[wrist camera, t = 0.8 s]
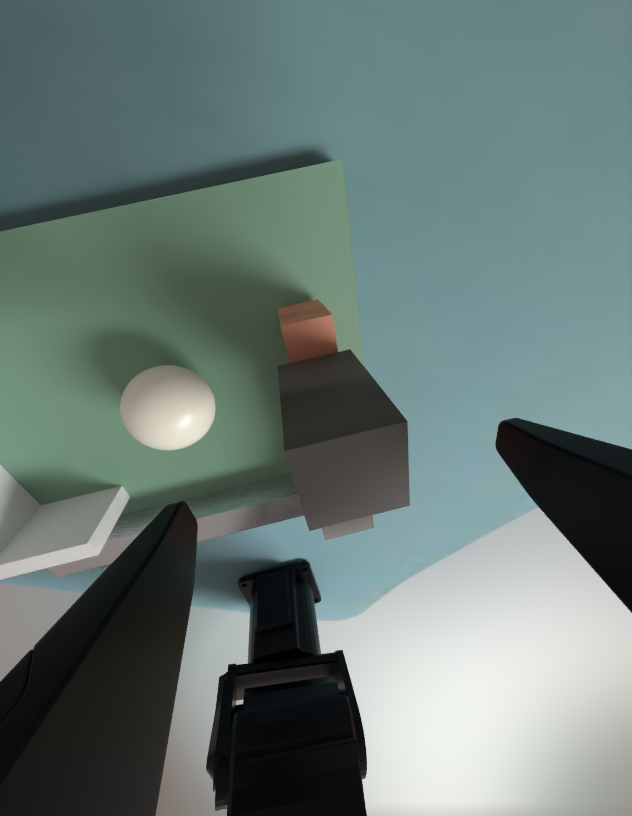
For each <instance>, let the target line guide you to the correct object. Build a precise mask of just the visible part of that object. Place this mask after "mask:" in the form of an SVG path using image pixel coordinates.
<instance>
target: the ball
mask: <svg viewBox="0 0 632 816" xmlns="http://www.w3.org/2000/svg"><path fill="white" fill-rule="evenodd" d="M215 411H216V405H215V398H214V395H213V393H212V391H211V389H210V387H209V385H208V384H207V383H206V382H205V380H204V379H203V378H201V377H200V376H199V375H198V374H196V373H195V372H193V371H191V370H189V369H186V368H183V367H180V366H175V365H162V366H155V367H152V368H149V369H147V370H145V371H142V372H141V373H139V374H138V375H137V376H135V377H134V378H133V379H132V380H131V381H130V382H129V384H128V385H127V386H126V388H125V390H124V392H123V394H122V397H121V402H120V414H121V418H122V421H123V424H124V426H125V427H126V429H127V431H128V432H129V433H130V434H131V435H132V437H134V438H135V439H136V440H137V441H139V442H140V443H142V444H144V445H146V446H148V447H151V448H154V449H158V450H177V449H182V448H185V447H188V446H190V445H192V444H194V443H195V442H197V441H198V440H200V439H201V438H202V437H203V436H204V435H205V434H206V433H207V431H208V430H209V429H210V427H211V425H212V423H213V420H214V417H215Z"/></svg>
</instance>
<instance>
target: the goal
mask: <svg viewBox="0 0 632 816" xmlns="http://www.w3.org/2000/svg"><path fill="white" fill-rule="evenodd" d="M129 498H130V496H129V494H128V493H127V492H126V490H125V489H124V488H123V486H119V487H115V488H111V489H107V490H103V491H98V492H94V493H90V494H86V495H82V496H78V497H74V498H70V499H65V500H61V501H57V502H53V503H49V504H45V505H40V504H39V503H38V502H37V501H36V500H35V499H34V498H33V497H32V496H31V495H30V494H29V493H28V492H27V491H26V490H25V489H24V488H23V487H22V486H21V485H20V484H19V483H18V482H17V481H16V480H15V479H14V478H13V477H12V476H11V475H10V474H9V473H8V472H7V471H6V470H5V469H4V468H3V467H2V466H1V465H0V580H1V579H5V578H9V577H13V576H17V575H21V574H25V573H29V572H33V571H37V570H41V569H45V568H49V567H53V566H57V565H61V564H65V563H69V562H73V561H77V560H81V559H85V558H89V557H93V556H97V555H99V553H100V552H101V550H102V548H103V546H104V544H105V542H106V541H107V539H108V537H109V535H110V533H111V531H112V529H113V528H114V526H115V524H116V522H117V520H118V518H119V517H120V515H121V513H122V511H123V509H124V507H125V506H126V504H127V502H128V500H129Z"/></svg>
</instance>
